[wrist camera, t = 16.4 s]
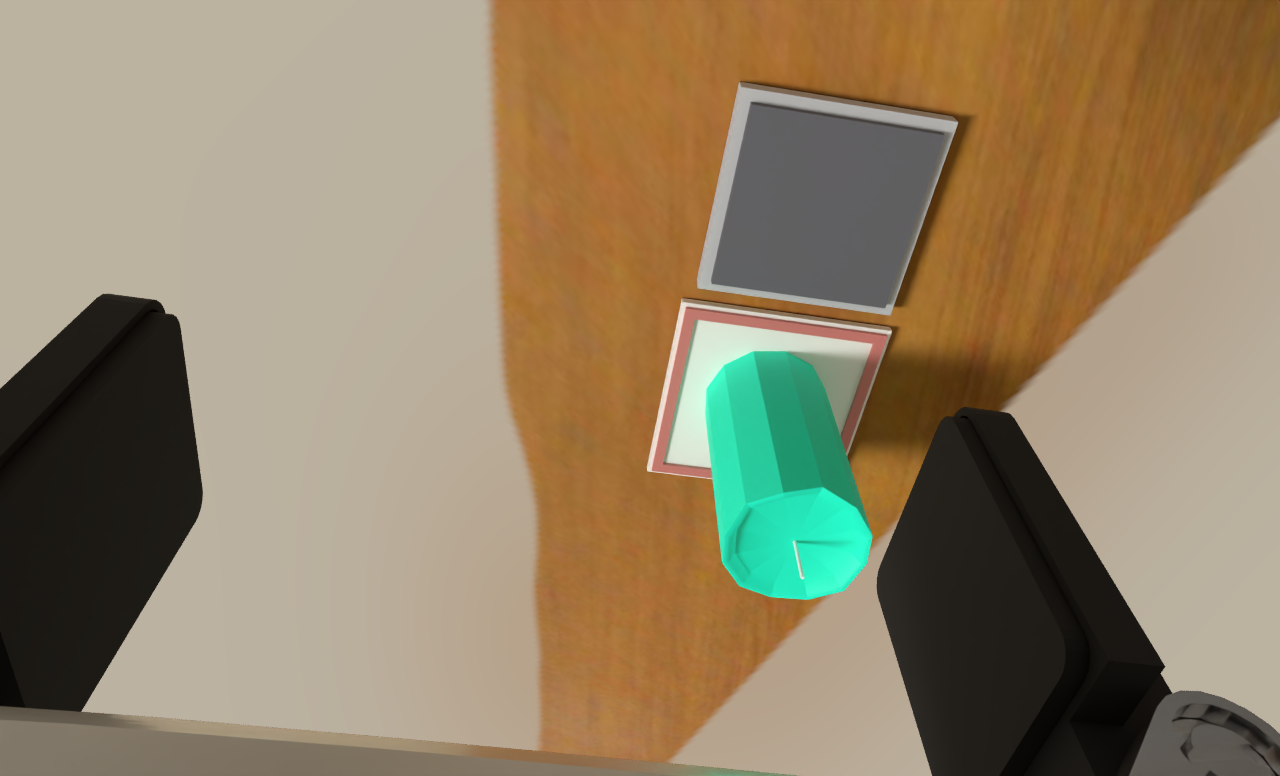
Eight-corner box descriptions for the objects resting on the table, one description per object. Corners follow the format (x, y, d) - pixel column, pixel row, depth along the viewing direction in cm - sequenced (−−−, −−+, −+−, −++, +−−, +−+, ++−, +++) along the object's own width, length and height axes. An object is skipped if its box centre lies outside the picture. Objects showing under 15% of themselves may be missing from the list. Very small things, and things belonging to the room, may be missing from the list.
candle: (850, 401, 45) (913, 577, 35) (758, 469, 47) (791, 652, 37) (771, 326, 42) (814, 491, 32) (678, 401, 45) (691, 577, 35)
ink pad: (739, 81, 37) (742, 89, 36) (952, 116, 37) (961, 125, 36) (696, 280, 41) (698, 292, 40) (886, 307, 42) (892, 319, 41)
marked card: (682, 297, 42) (682, 304, 41) (890, 327, 43) (893, 333, 42) (647, 466, 47) (647, 473, 47) (832, 489, 48) (834, 496, 48)
